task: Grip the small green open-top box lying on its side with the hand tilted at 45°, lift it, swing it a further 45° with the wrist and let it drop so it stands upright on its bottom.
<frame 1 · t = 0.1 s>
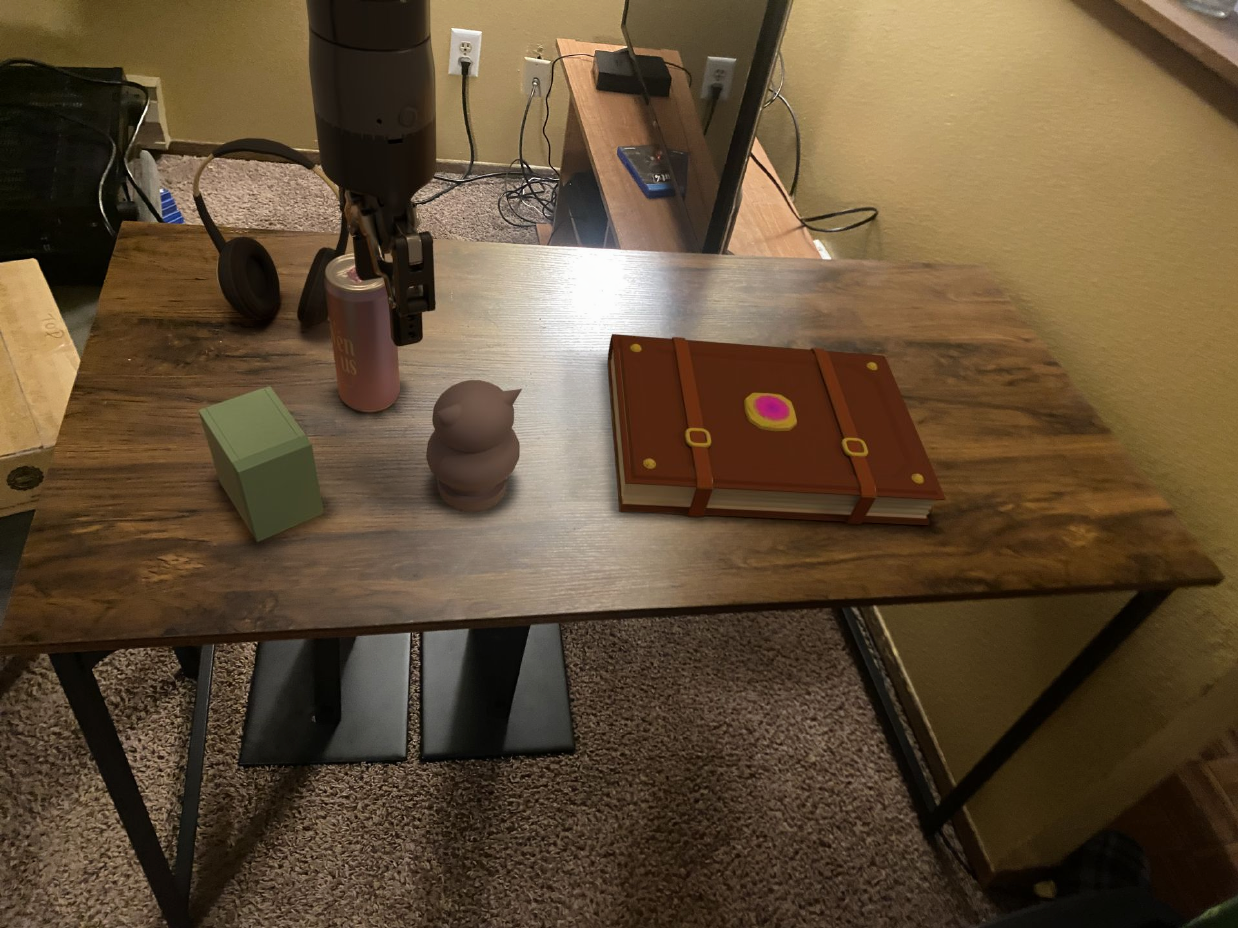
hand: (388, 308, 65), 19 cm above the table, tool pointing down, fingers open, 8 cm apart
beverage can: (370, 396, 85), on the table
green open-top box: (271, 497, 74), on the table
book: (757, 439, 89), on the table
cat figurine: (472, 486, 79), on the table
headphones: (290, 316, 91), on the table
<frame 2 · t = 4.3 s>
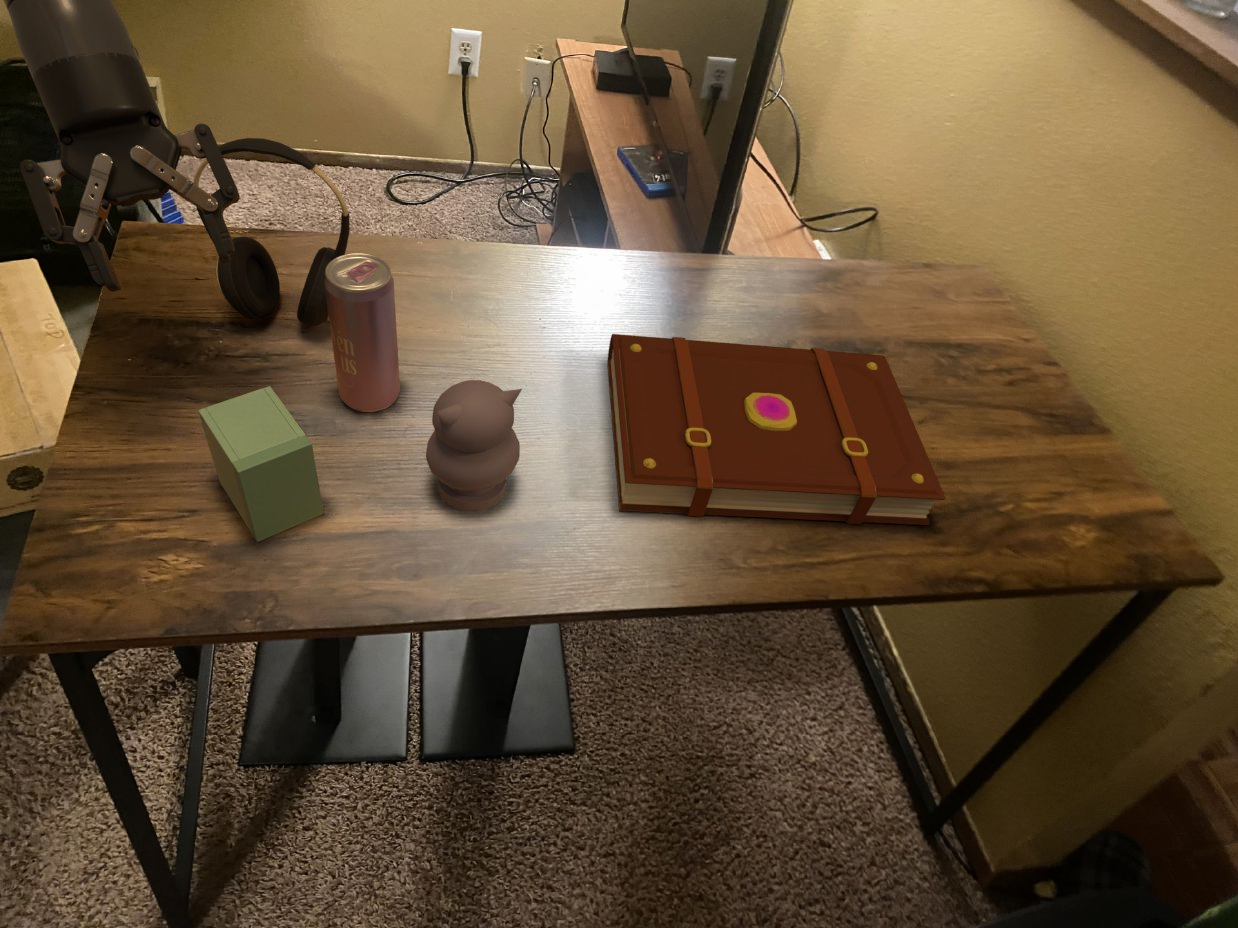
hand: (171, 275, 68), 16 cm above the table, tool tilted 40°, fingers open, 8 cm apart
nothing on the table moved.
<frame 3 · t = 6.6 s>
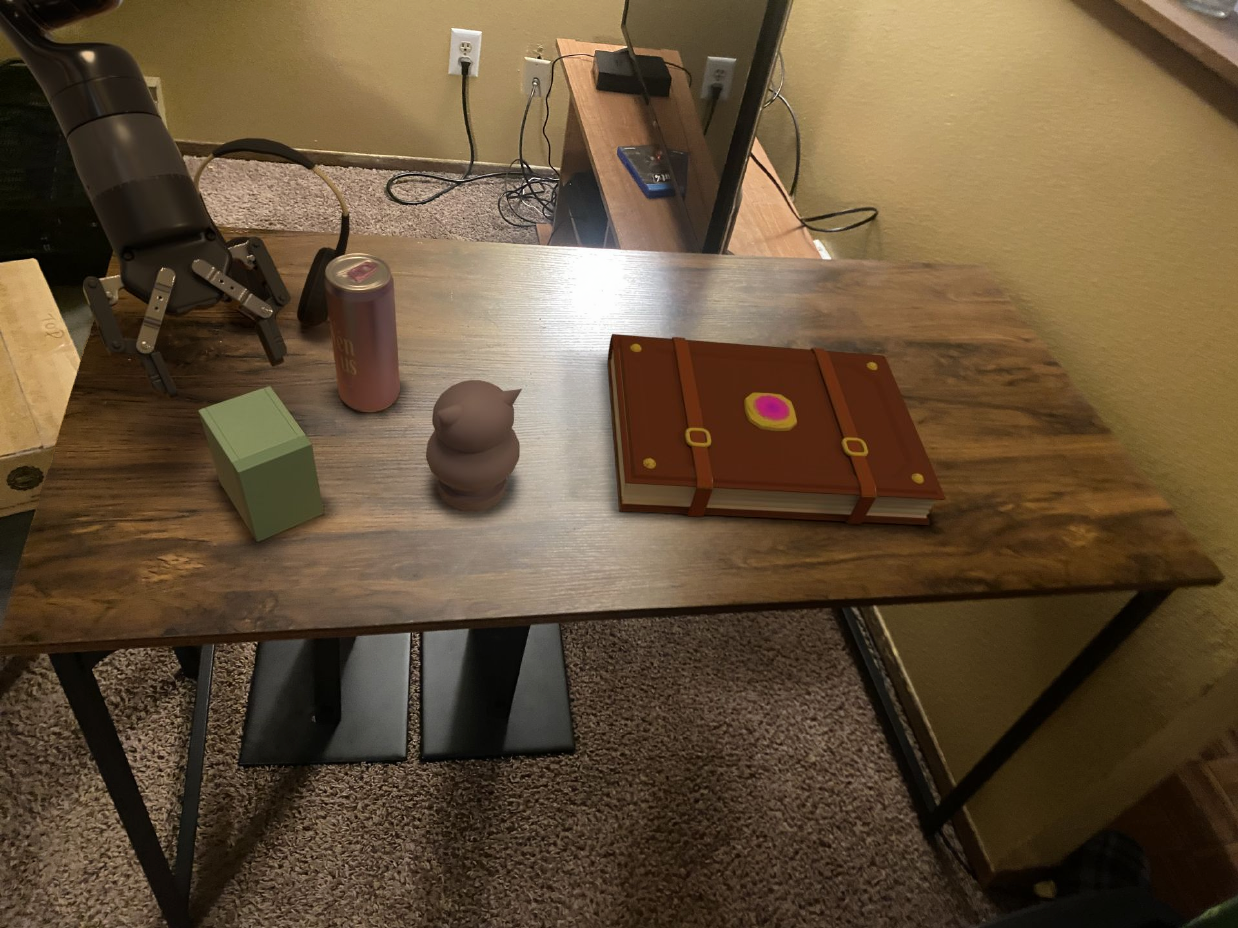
hand: (228, 380, 69), 10 cm above the table, tool tilted 45°, fingers open, 8 cm apart
nothing on the table moved.
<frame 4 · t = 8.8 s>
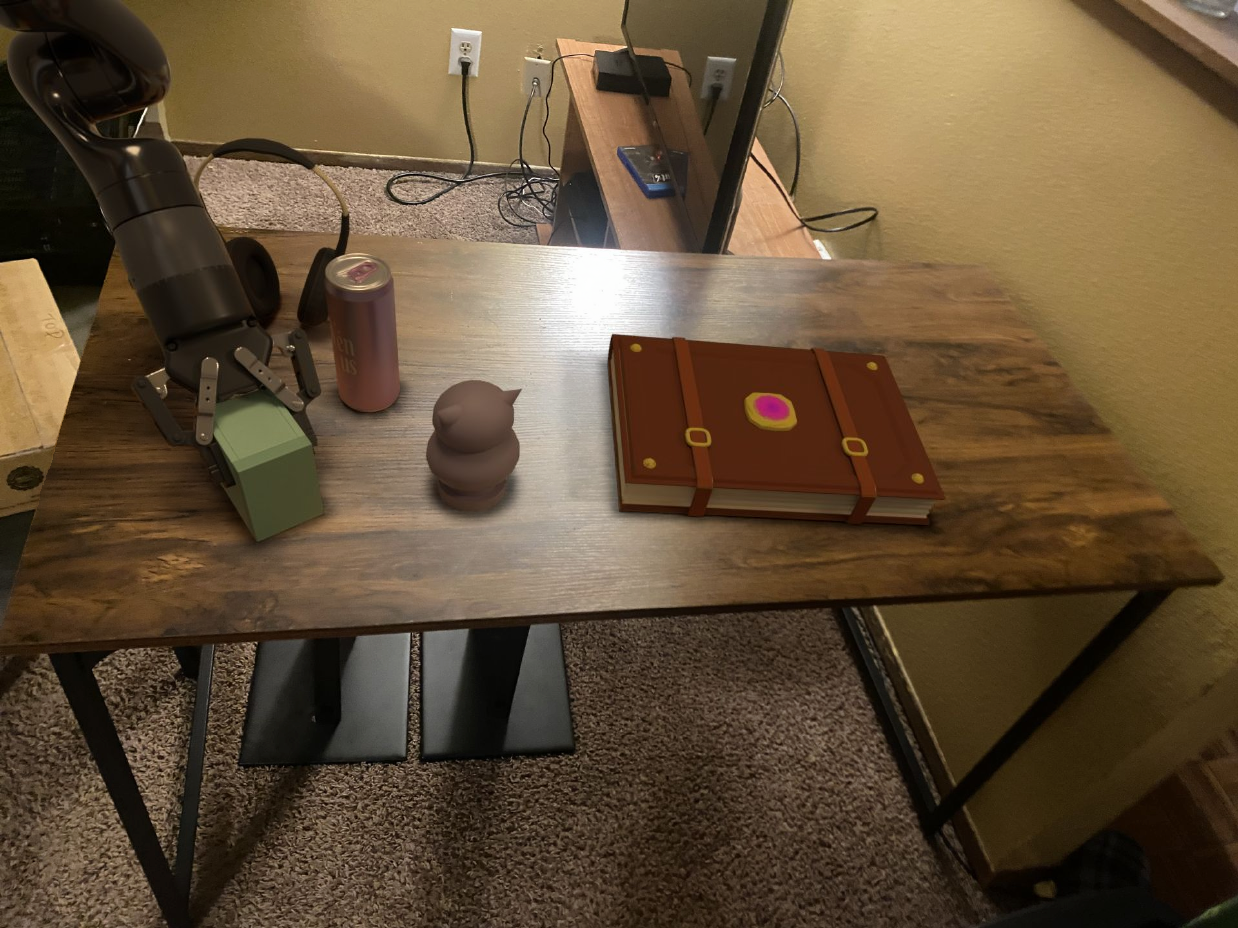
hand: (270, 470, 70), 5 cm above the table, tool tilted 45°, fingers closed on green open-top box, 6 cm apart
green open-top box: (271, 497, 74), on the table, touching gripper
everything else where it was.
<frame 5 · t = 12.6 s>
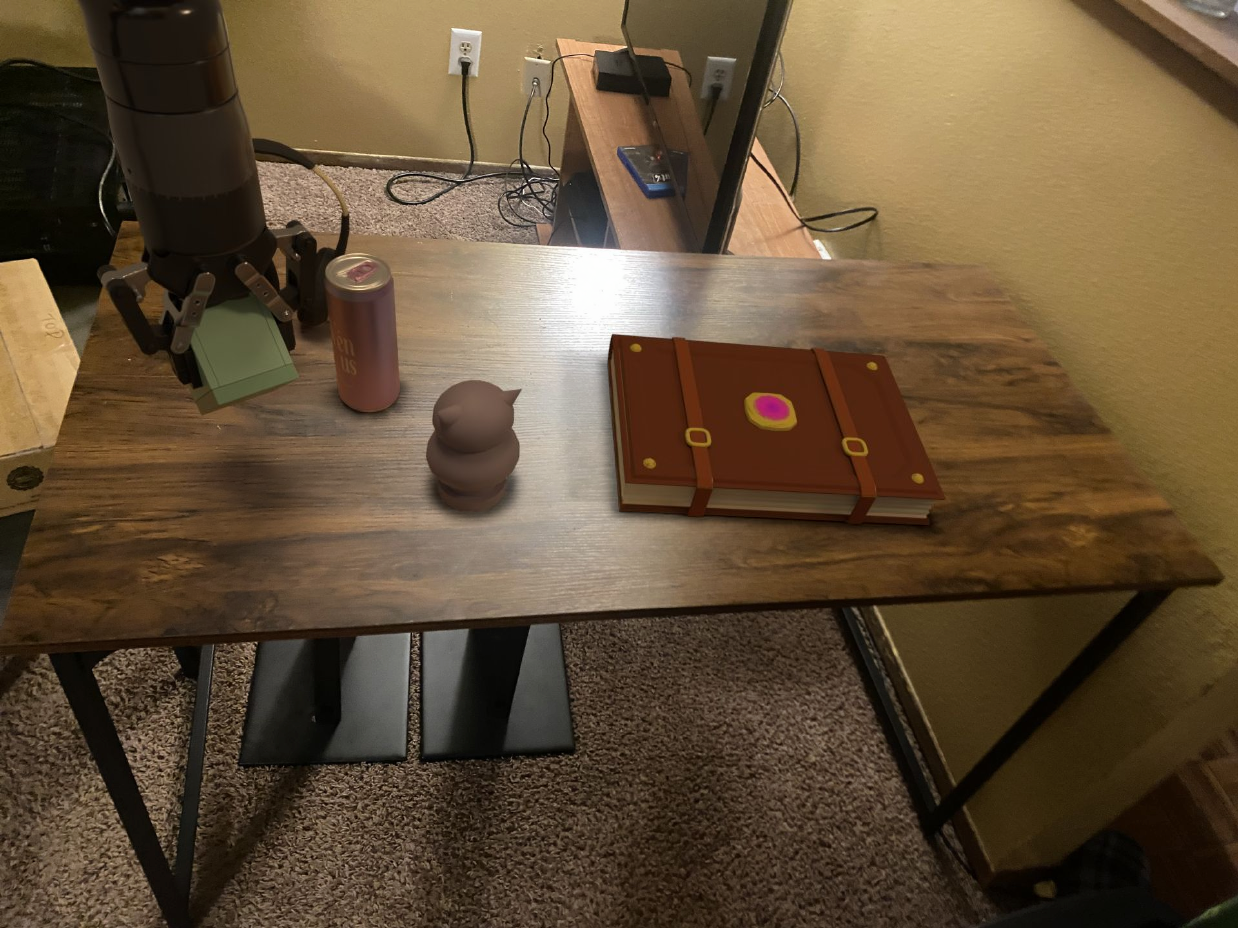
hand: (238, 366, 63), 15 cm above the table, tool pointing down, fingers closed on green open-top box, 6 cm apart
green open-top box: (218, 356, 68), point 13 cm above the table, tilted 45°, touching gripper
everything else where it was.
when the fingers open (6 cm above the table, at t = 15.8 s): green open-top box moves 3 cm and tips over, point 4 cm above the table.
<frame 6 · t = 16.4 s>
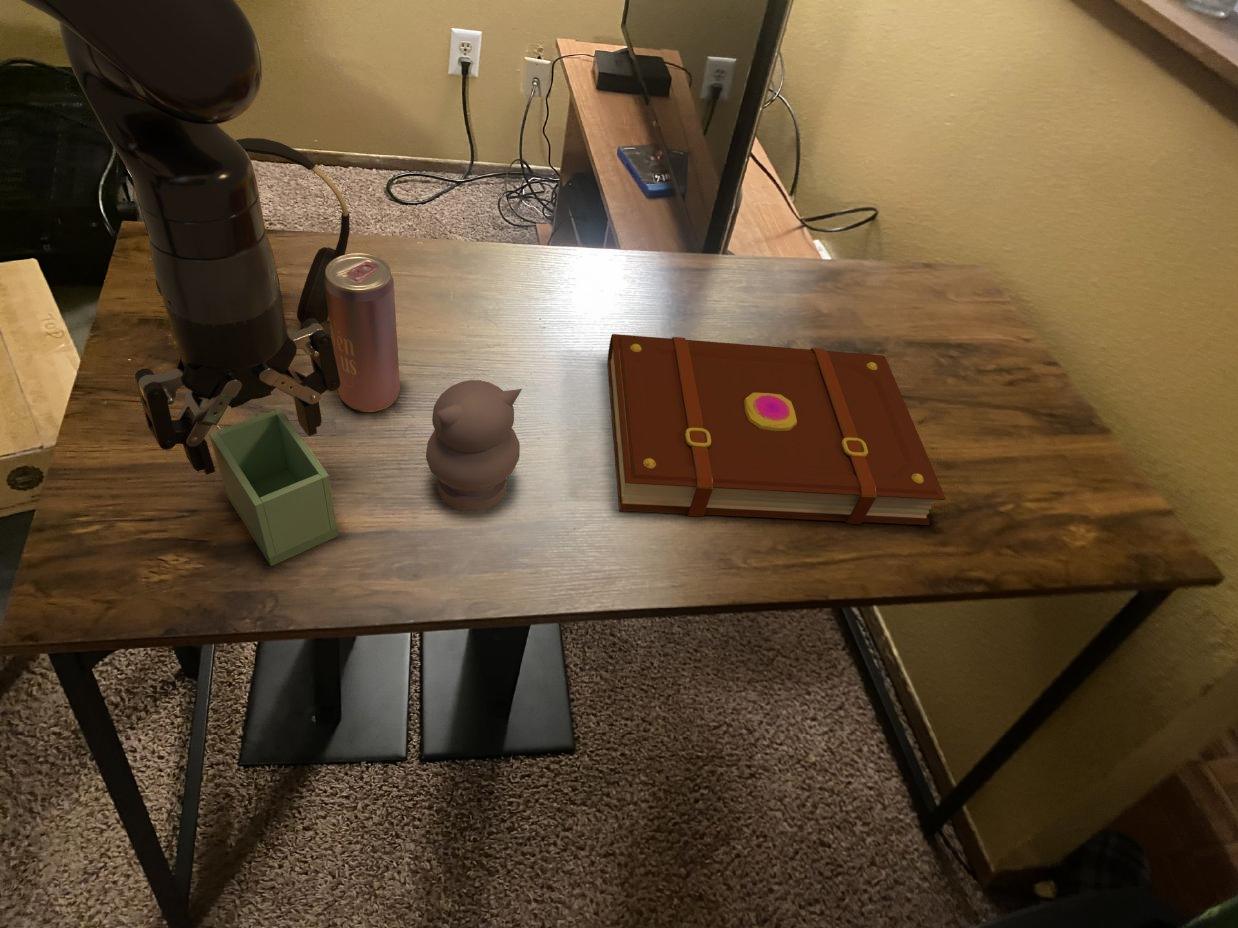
hand: (259, 447, 70), 6 cm above the table, tool pointing down, fingers open, 8 cm apart
green open-top box: (253, 453, 72), point 4 cm above the table, tilted 90°
everything else where it was.
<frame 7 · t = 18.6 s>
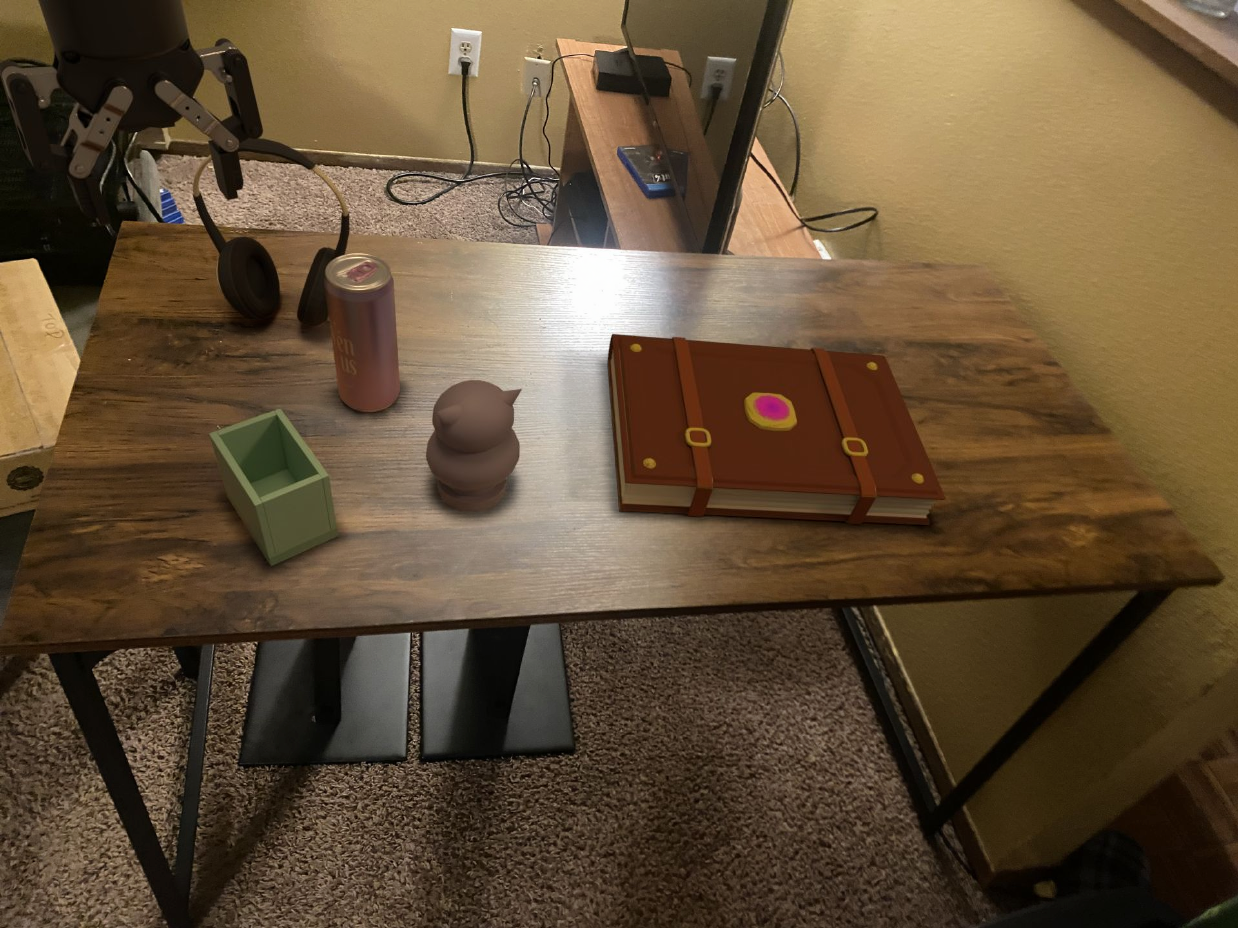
hand: (168, 206, 59), 25 cm above the table, tool pointing down, fingers open, 8 cm apart
nothing on the table moved.
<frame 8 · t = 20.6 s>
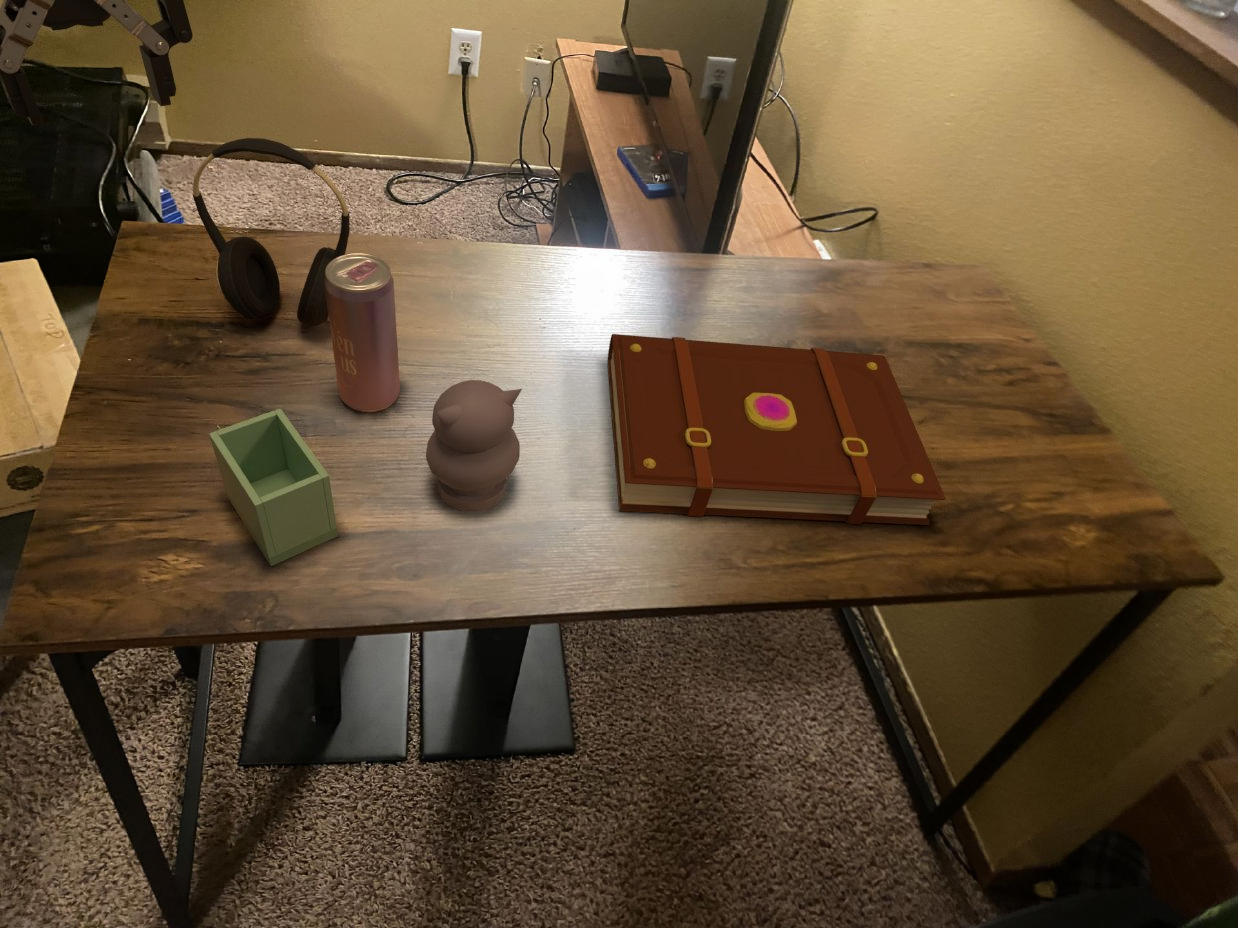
hand: (101, 110, 61), 28 cm above the table, tool pointing down, fingers open, 8 cm apart
nothing on the table moved.
at the end: green open-top box tilted 90°; green open-top box inside the target area (0.4 cm from its centre), point 4.0 cm above the table; the gripper is holding nothing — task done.
